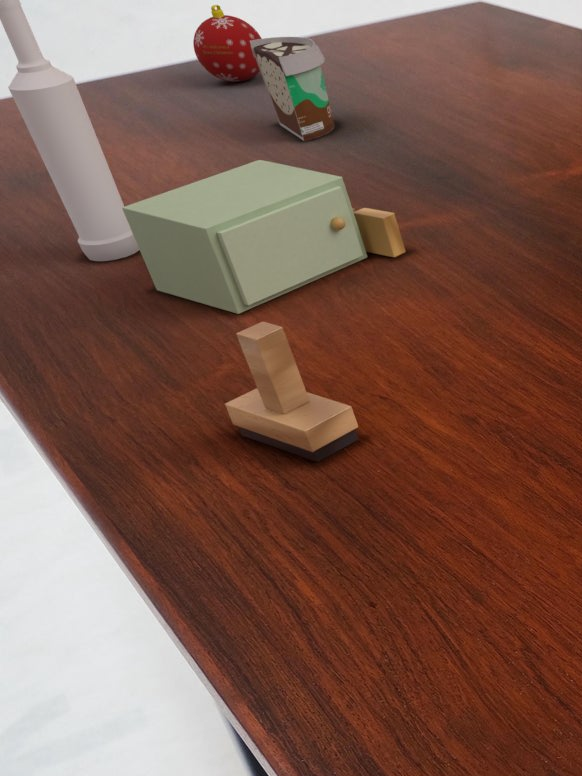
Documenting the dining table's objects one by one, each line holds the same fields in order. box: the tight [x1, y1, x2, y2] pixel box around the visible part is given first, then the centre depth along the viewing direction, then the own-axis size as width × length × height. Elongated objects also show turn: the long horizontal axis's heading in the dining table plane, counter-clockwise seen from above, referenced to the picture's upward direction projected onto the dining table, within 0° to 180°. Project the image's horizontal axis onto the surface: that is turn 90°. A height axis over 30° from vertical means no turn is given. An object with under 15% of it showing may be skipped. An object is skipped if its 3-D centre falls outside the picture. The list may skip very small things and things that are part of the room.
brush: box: [224, 321, 359, 463], centre depth 93 cm, size 4×9×9 cm, turn 61°
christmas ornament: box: [193, 4, 263, 83], centre depth 176 cm, size 9×9×10 cm
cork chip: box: [353, 207, 407, 258], centre depth 124 cm, size 4×4×2 cm
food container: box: [250, 36, 335, 142], centre depth 157 cm, size 12×6×10 cm, turn 41°
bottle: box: [0, 0, 140, 262], centre depth 120 cm, size 5×5×25 cm
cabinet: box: [122, 159, 368, 315], centre depth 119 cm, size 14×14×8 cm
